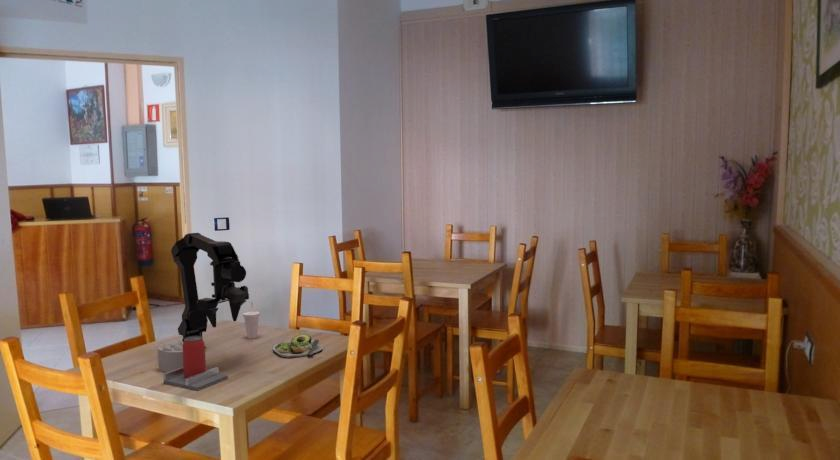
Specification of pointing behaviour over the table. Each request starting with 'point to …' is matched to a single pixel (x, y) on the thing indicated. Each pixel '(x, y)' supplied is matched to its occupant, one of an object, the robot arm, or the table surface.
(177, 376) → the rail board
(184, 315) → the robot arm
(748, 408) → the table surface
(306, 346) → the salad plate
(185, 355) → the beer can
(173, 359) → the paw print puck
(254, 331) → the smoothie
